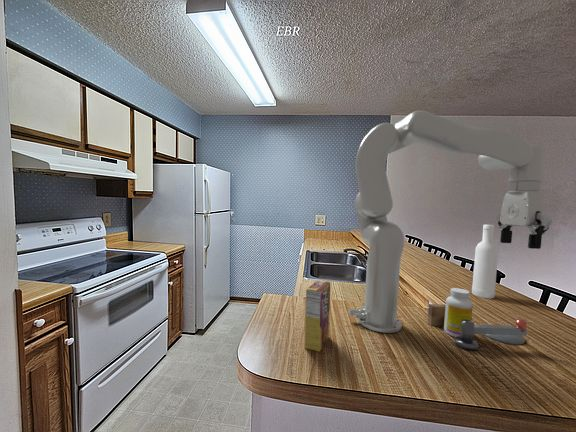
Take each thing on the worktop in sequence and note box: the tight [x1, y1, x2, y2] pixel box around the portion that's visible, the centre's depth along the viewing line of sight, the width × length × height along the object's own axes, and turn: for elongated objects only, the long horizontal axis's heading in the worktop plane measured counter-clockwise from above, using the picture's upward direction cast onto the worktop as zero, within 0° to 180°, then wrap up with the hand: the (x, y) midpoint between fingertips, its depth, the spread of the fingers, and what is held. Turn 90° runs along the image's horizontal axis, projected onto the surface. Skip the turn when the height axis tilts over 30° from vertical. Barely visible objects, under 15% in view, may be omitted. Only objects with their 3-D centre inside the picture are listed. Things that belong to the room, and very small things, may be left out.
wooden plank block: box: [427, 303, 446, 327], centre depth 86 cm, size 12×2×6 cm, turn 92°
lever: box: [454, 318, 528, 351], centre depth 74 cm, size 18×5×7 cm, turn 92°
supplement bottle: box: [443, 287, 473, 337], centre depth 80 cm, size 7×7×13 cm
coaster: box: [481, 323, 526, 345], centre depth 81 cm, size 11×11×1 cm
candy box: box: [304, 280, 331, 352], centre depth 72 cm, size 9×4×15 cm, turn 156°
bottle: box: [471, 224, 499, 300], centre depth 116 cm, size 8×8×30 cm
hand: (519, 245), depth 83 cm, fingers open, 9 cm apart
